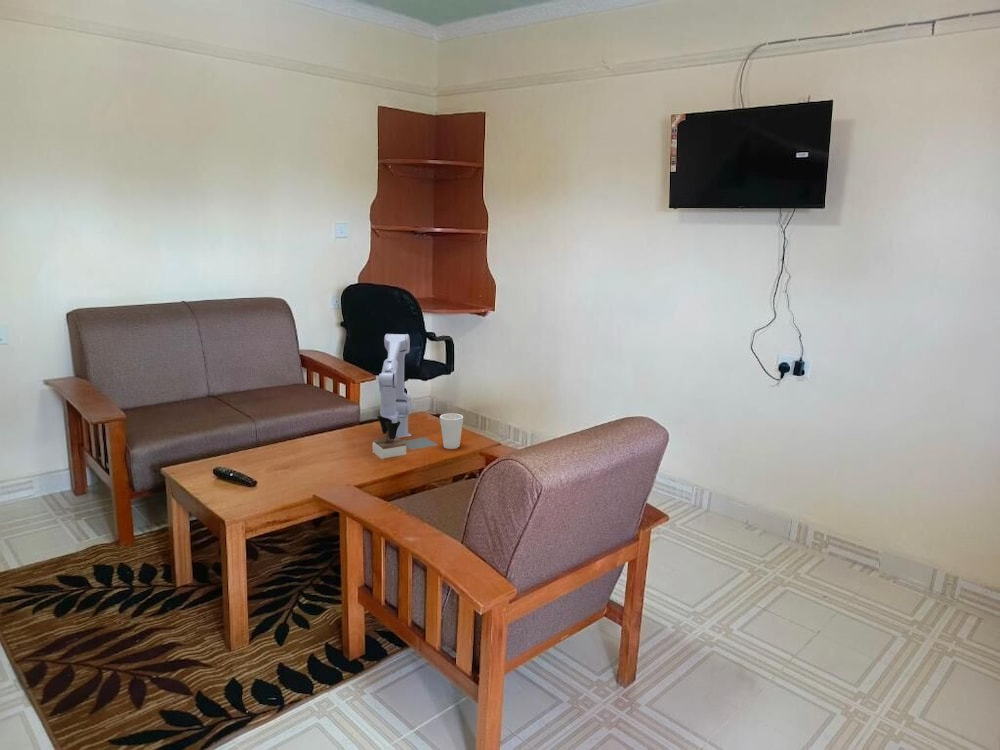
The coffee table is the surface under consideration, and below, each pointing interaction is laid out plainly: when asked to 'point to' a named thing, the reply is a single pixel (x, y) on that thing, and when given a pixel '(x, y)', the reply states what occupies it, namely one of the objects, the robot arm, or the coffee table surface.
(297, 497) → the coffee table surface
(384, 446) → the lid
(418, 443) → the mat
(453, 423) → the foam cup
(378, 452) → the white open box
